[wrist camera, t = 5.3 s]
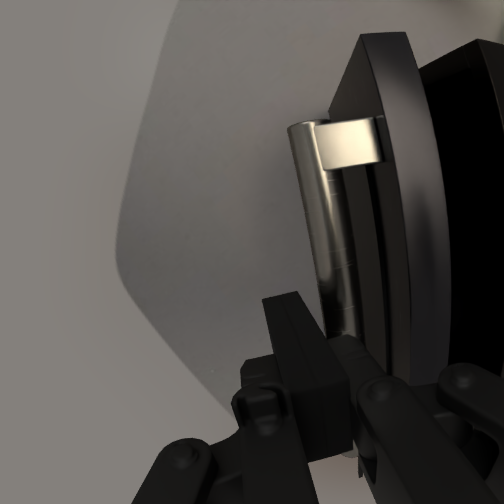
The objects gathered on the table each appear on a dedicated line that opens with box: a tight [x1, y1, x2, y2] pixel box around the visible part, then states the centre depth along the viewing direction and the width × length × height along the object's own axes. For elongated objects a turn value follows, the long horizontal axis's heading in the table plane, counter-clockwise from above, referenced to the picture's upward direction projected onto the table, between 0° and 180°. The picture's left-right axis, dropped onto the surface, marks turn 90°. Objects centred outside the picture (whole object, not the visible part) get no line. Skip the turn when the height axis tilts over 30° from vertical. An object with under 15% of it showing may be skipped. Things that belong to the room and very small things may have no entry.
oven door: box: [287, 32, 451, 458], centre depth 17 cm, size 5×20×14 cm, turn 12°
